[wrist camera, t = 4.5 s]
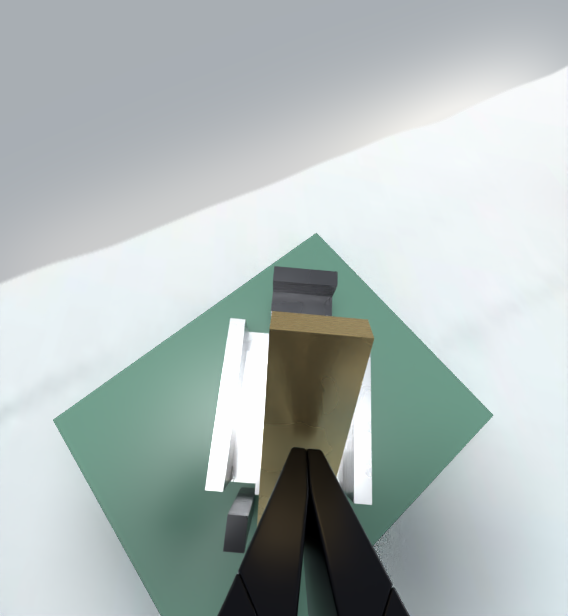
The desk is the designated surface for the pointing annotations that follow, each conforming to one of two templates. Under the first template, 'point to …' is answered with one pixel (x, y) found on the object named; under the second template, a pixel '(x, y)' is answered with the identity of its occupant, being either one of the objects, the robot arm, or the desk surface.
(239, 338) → the heatsink mount
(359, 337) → the bar
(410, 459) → the motherboard
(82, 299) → the desk surface
